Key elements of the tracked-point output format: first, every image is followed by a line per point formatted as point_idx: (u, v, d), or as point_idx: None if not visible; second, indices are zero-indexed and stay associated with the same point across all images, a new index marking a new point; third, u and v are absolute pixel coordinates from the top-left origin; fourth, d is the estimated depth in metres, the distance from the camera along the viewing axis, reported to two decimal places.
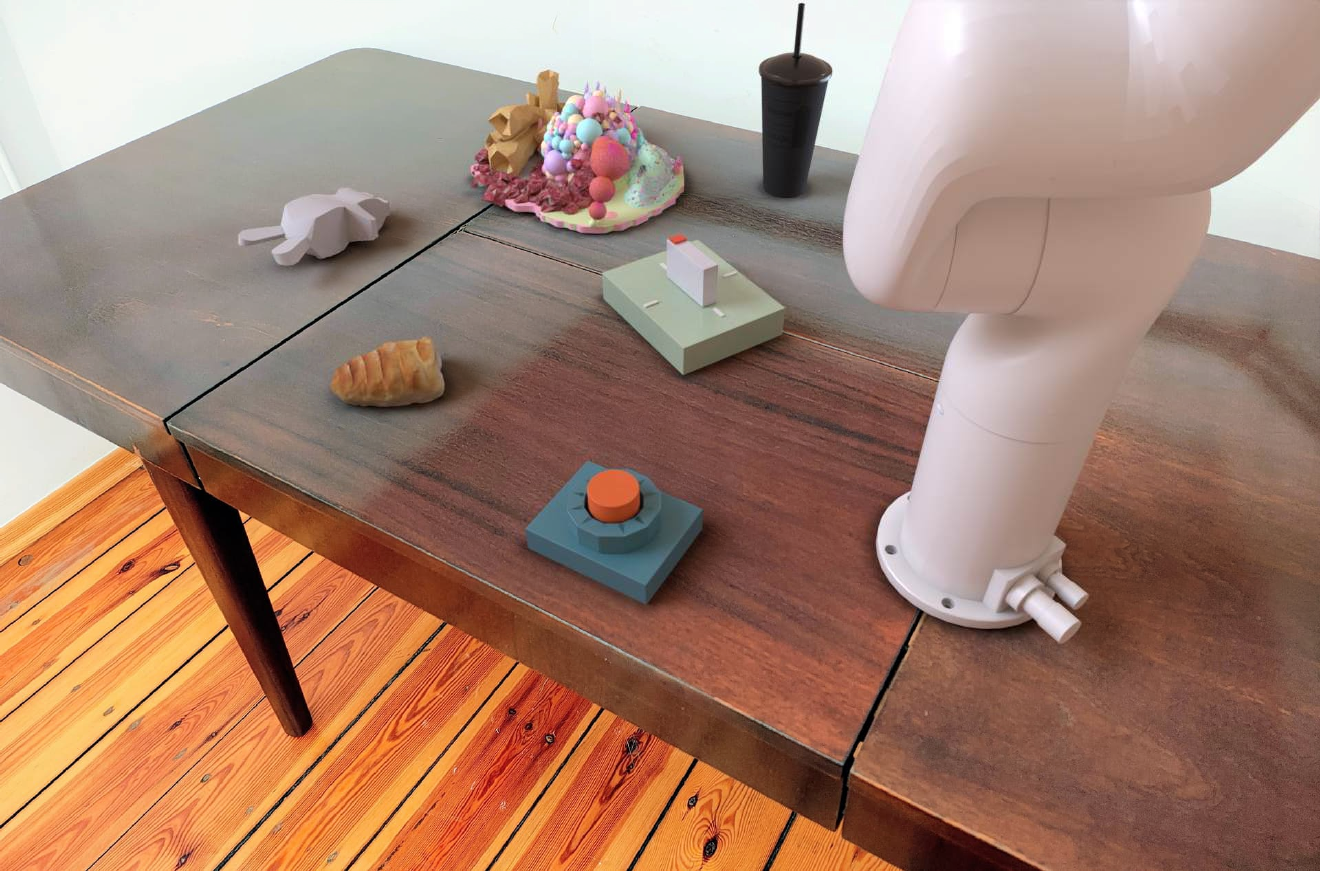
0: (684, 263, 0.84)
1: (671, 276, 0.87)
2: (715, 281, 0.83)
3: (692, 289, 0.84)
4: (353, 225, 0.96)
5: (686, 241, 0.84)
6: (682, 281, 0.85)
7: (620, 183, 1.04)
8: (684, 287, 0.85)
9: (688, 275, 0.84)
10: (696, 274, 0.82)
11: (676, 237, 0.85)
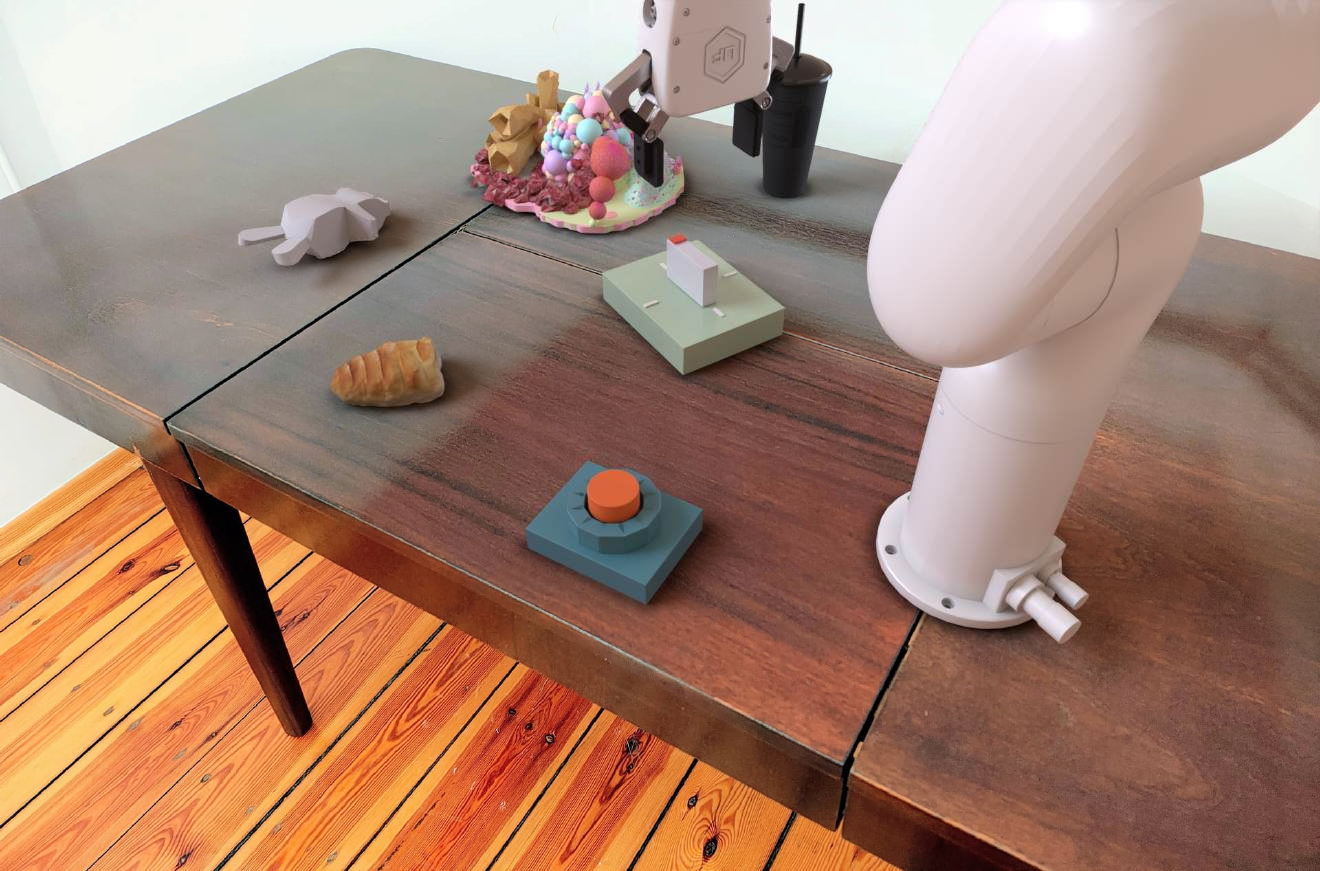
0: (684, 263, 0.84)
1: (671, 276, 0.87)
2: (715, 281, 0.83)
3: (692, 289, 0.84)
4: (353, 225, 0.96)
5: (686, 241, 0.84)
6: (682, 281, 0.85)
7: (620, 183, 1.04)
8: (684, 287, 0.85)
9: (688, 275, 0.84)
10: (696, 274, 0.82)
11: (676, 237, 0.85)
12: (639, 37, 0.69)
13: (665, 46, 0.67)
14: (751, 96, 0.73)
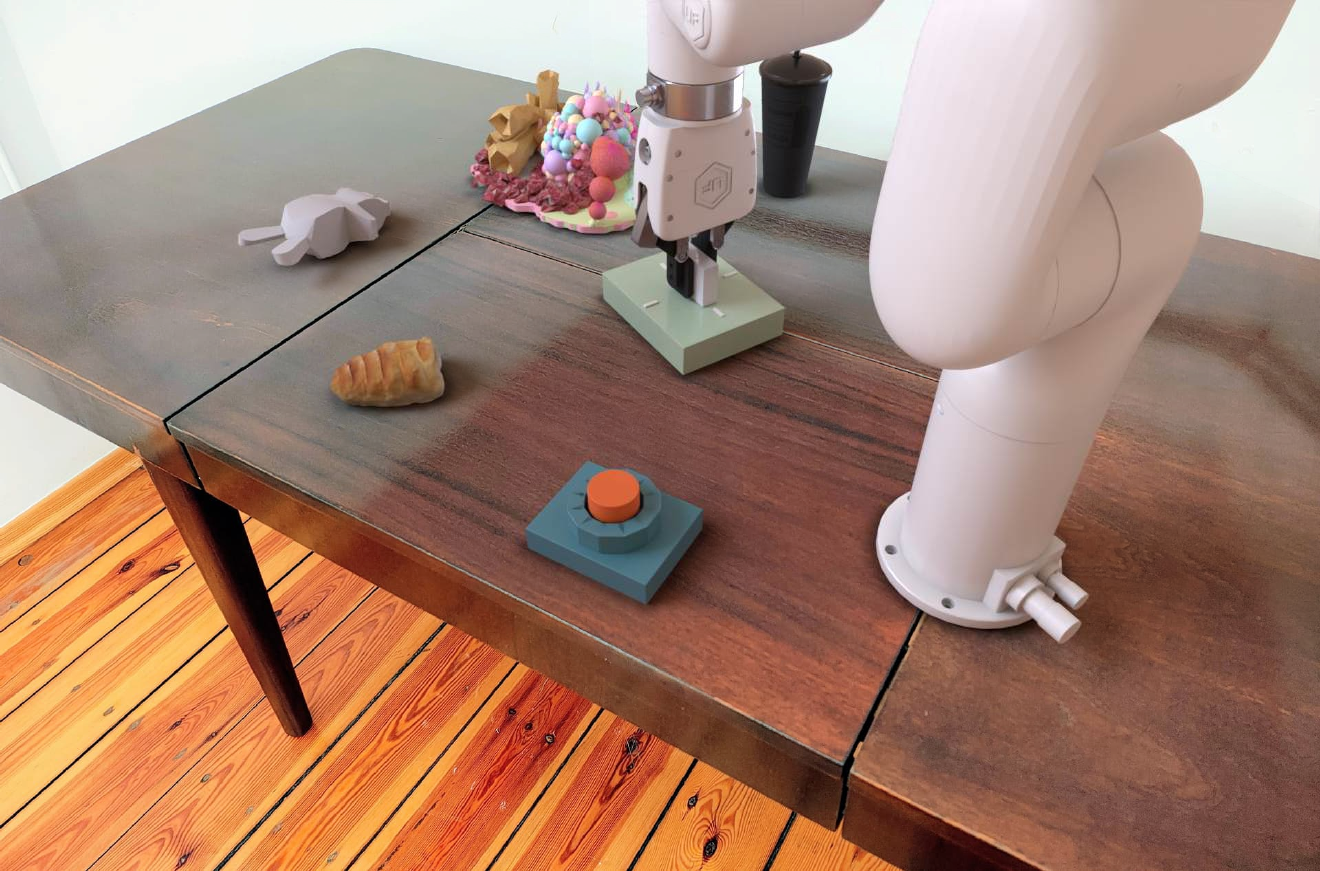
0: None
1: None
2: (716, 281, 0.83)
3: None
4: (353, 225, 0.96)
5: None
6: None
7: (620, 183, 1.04)
8: None
9: None
10: (696, 274, 0.82)
11: None
12: (636, 171, 0.76)
13: (659, 182, 0.74)
14: (738, 217, 0.80)
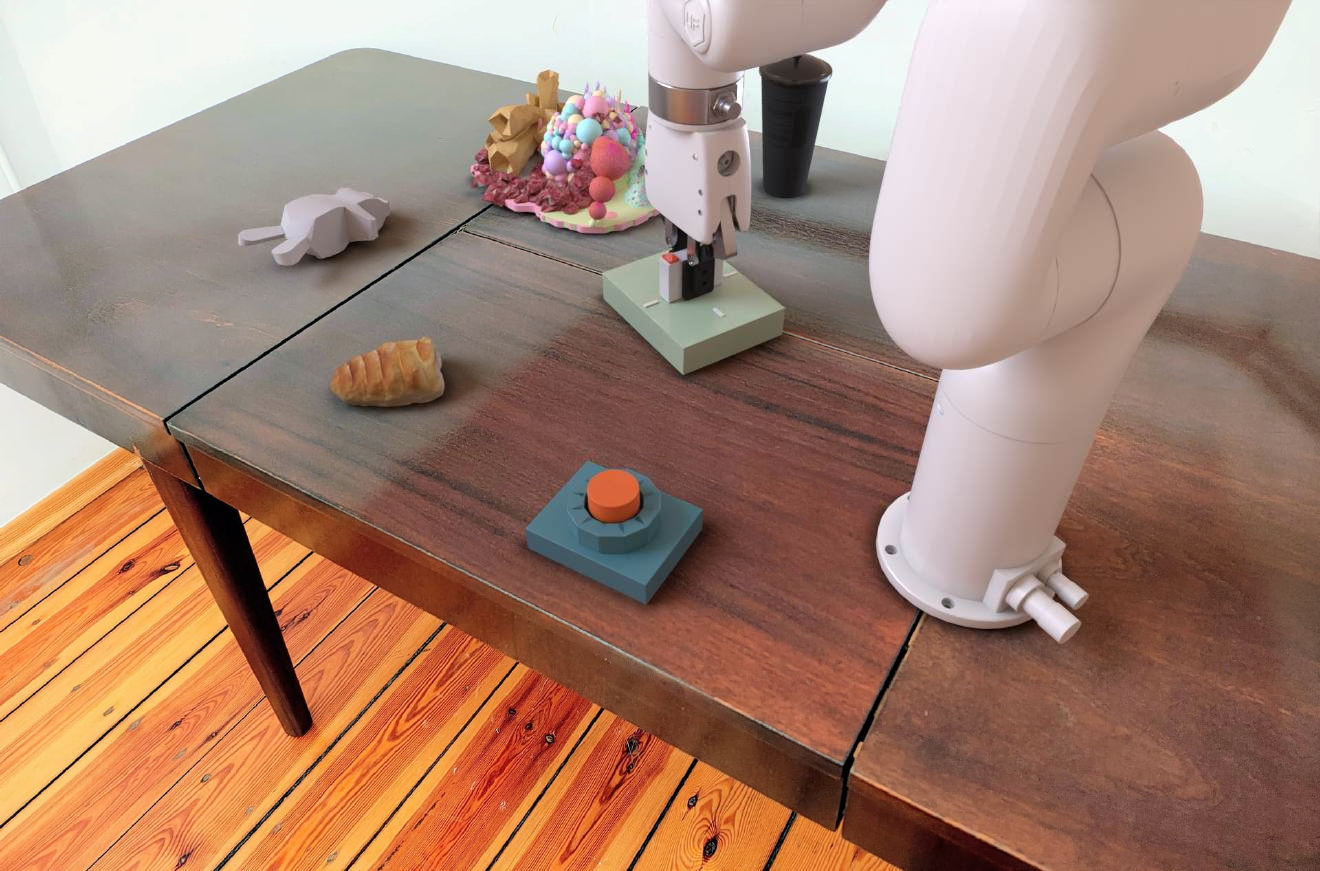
0: None
1: (676, 295, 0.84)
2: None
3: None
4: (353, 225, 0.96)
5: (673, 254, 0.83)
6: None
7: (620, 183, 1.04)
8: None
9: None
10: None
11: (669, 257, 0.82)
12: (715, 193, 0.74)
13: (749, 177, 0.75)
14: None
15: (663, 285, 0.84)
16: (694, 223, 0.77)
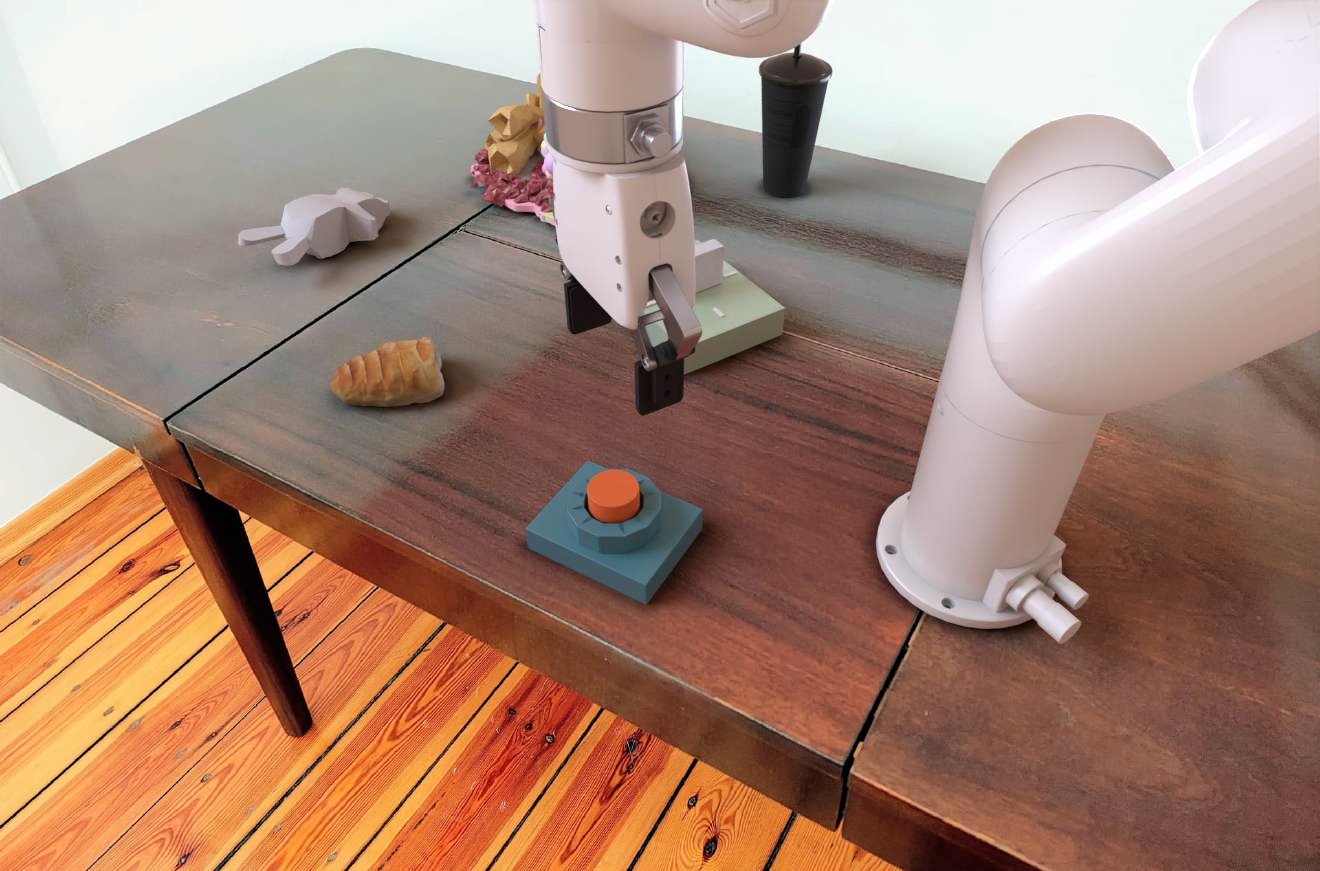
0: (696, 265, 0.83)
1: None
2: None
3: (708, 279, 0.85)
4: (353, 225, 0.96)
5: None
6: None
7: None
8: (696, 288, 0.85)
9: (702, 271, 0.84)
10: (714, 259, 0.84)
11: None
12: (638, 261, 0.51)
13: (691, 237, 0.52)
14: None
15: None
16: (614, 300, 0.54)
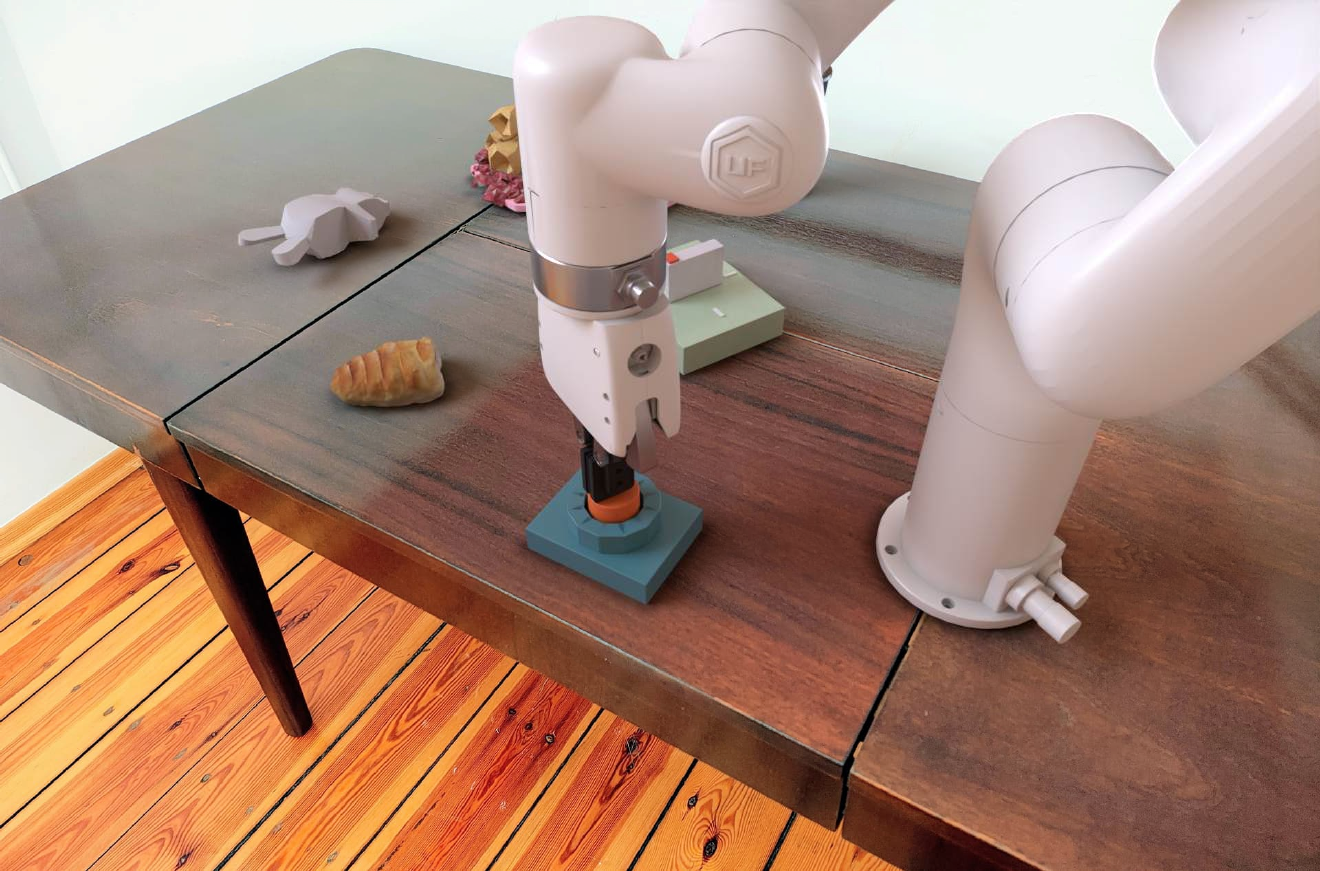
0: (696, 265, 0.83)
1: (676, 295, 0.84)
2: None
3: (708, 279, 0.85)
4: (353, 225, 0.96)
5: (673, 254, 0.83)
6: (693, 286, 0.85)
7: None
8: (696, 288, 0.85)
9: (702, 271, 0.84)
10: (714, 259, 0.84)
11: (669, 257, 0.82)
12: (626, 399, 0.52)
13: (676, 371, 0.54)
14: None
15: None
16: (602, 430, 0.55)
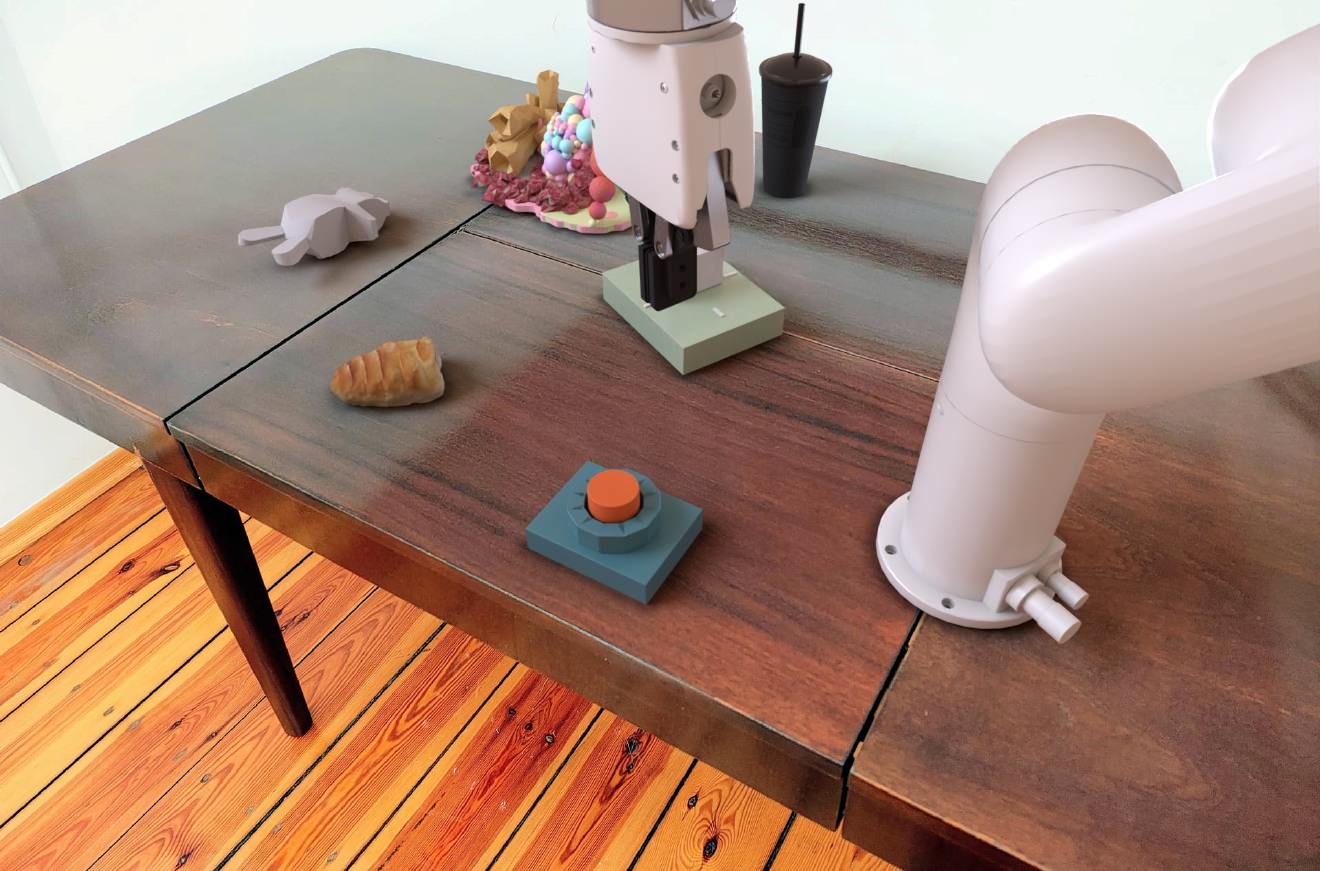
0: None
1: None
2: None
3: (708, 279, 0.85)
4: (353, 225, 0.96)
5: None
6: None
7: None
8: None
9: (702, 271, 0.84)
10: (714, 259, 0.84)
11: None
12: (698, 145, 0.46)
13: (751, 119, 0.48)
14: None
15: None
16: (668, 196, 0.49)
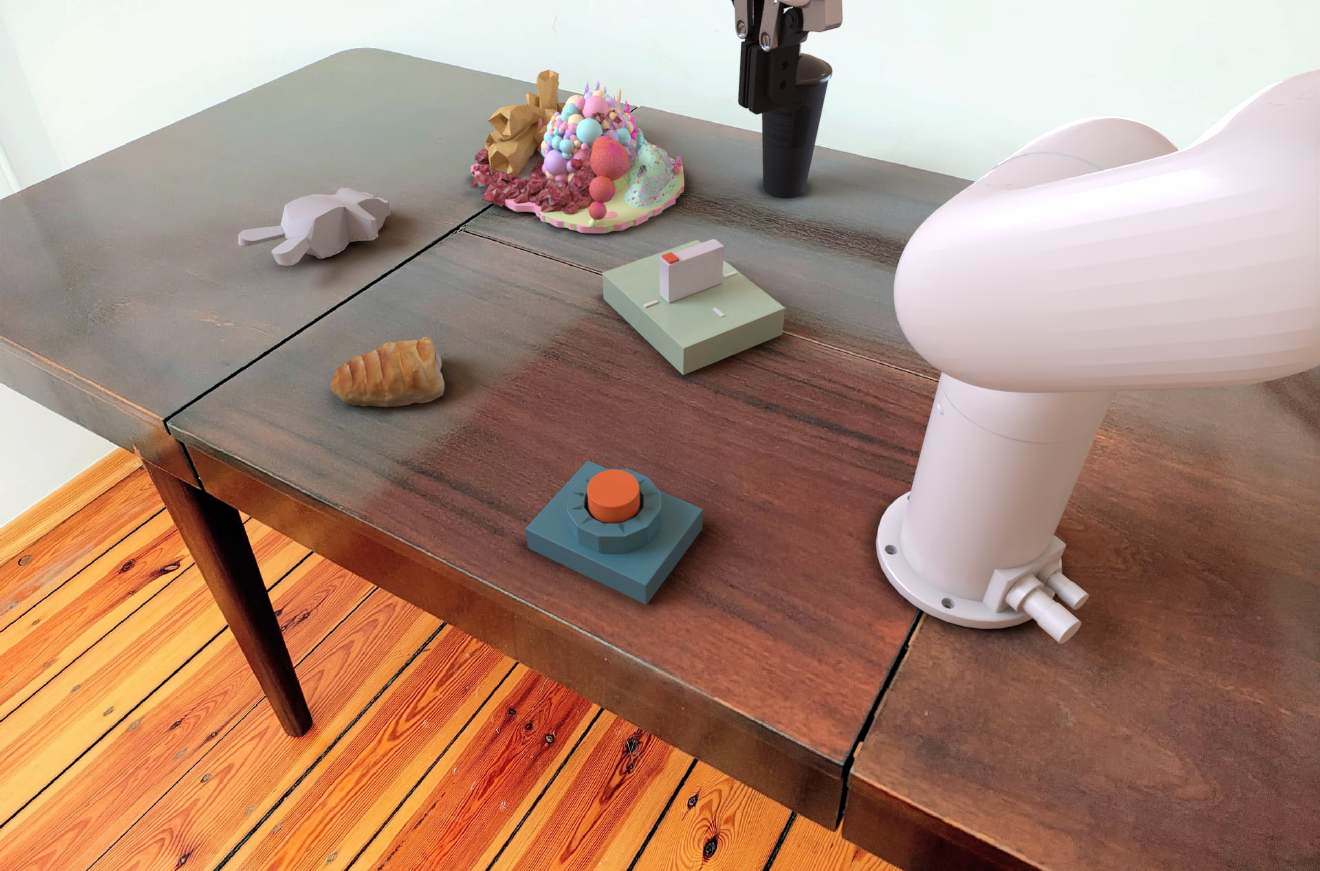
0: (696, 265, 0.83)
1: (676, 295, 0.84)
2: None
3: (708, 279, 0.85)
4: (353, 225, 0.96)
5: (673, 254, 0.83)
6: (693, 286, 0.85)
7: (620, 183, 1.04)
8: (696, 288, 0.85)
9: (702, 271, 0.84)
10: (714, 259, 0.84)
11: (669, 257, 0.82)
12: None
13: None
14: None
15: (663, 285, 0.84)
16: None
